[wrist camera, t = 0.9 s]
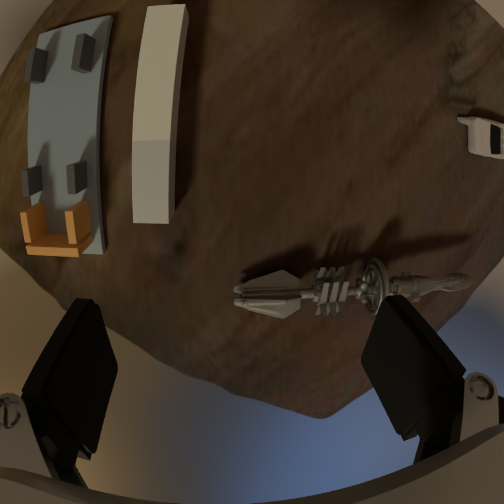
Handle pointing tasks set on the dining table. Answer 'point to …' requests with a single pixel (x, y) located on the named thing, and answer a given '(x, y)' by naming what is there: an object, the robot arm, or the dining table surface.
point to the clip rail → (65, 140)
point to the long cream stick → (157, 113)
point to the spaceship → (339, 290)
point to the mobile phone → (484, 136)
